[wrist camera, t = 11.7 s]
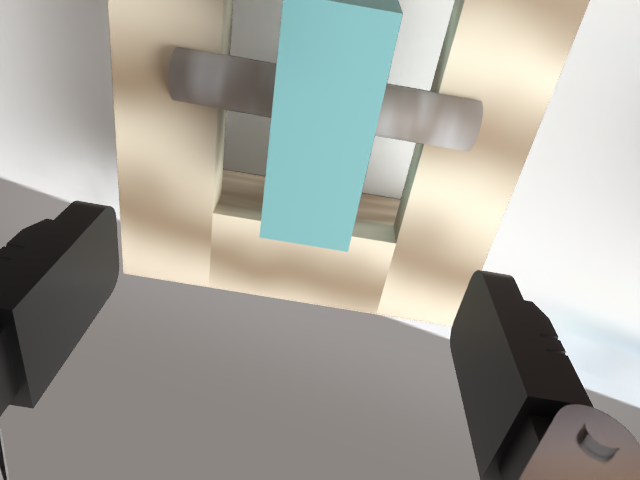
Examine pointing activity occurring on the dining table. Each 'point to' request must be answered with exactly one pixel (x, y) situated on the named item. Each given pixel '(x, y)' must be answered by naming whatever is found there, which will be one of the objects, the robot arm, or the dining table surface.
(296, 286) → the shelf
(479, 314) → the robot arm
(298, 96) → the teal arch block
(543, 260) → the dining table surface
